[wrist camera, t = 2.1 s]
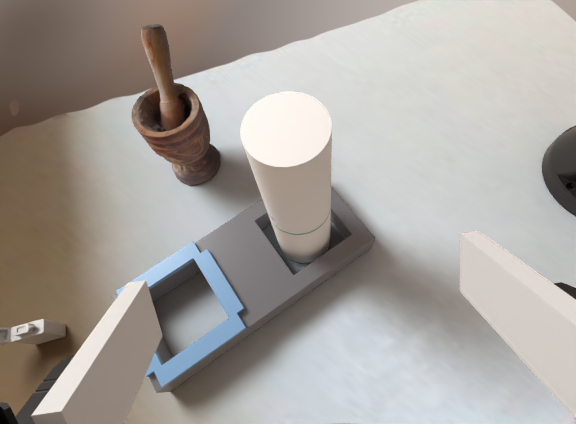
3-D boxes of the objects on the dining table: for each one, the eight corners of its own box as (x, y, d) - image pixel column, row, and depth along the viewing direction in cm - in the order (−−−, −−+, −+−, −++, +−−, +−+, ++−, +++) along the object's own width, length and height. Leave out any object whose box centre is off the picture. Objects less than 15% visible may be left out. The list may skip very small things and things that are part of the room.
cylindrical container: (311, 205, 54) (298, 77, 31) (340, 244, 51) (350, 134, 28) (268, 231, 53) (224, 120, 30) (296, 273, 50) (270, 184, 27)
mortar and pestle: (162, 137, 62) (92, 35, 43) (212, 119, 62) (164, 11, 44) (177, 195, 57) (106, 108, 39) (231, 175, 57) (187, 80, 39)
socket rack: (314, 179, 56) (313, 162, 51) (371, 247, 51) (375, 235, 46) (127, 303, 51) (108, 295, 46) (170, 391, 46) (153, 392, 41)
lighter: (65, 323, 50) (21, 313, 43) (65, 336, 50) (20, 328, 42) (13, 338, 50) (-40, 330, 43) (13, 351, 50) (-41, 346, 42)
